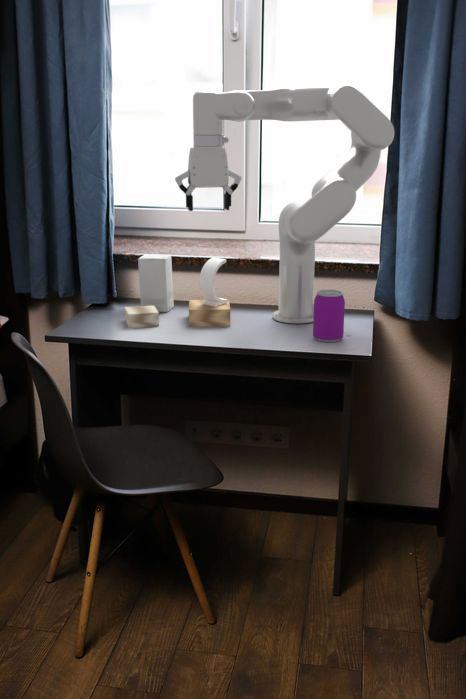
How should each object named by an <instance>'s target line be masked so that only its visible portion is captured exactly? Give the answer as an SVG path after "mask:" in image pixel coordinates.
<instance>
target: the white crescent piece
mask: <svg viewBox="0 0 466 699" xmlns="http://www.w3.org/2000/svg"><path fill="white" fill-rule="evenodd" d="M226 263H227V259H225V258H220V257H215V256H213V257H211V258H209V259H208V260H207V261H206V262H205V263H204V265H203V266H202V268H201V271H200V274H199V279H198V280H199V281H198V283H199V290H200V293H201V295H202V296H203V297H204V300H205V301H203V304H205V305H209V306H214V307H216V306H219V305H222V304H225V303H228V300H229V299H227V298H223V297H218V295H217V294H216V291H215V278H216V275H217V272H218V270H219V269H220V267H222V266H223V265H224V264H226Z"/></svg>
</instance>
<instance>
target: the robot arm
mask: <svg viewBox="0 0 466 699" xmlns="http://www.w3.org/2000/svg"><path fill="white" fill-rule="evenodd" d="M192 97H193V98H192V125H193V126H192V128H193V132H192V135H193V138H192V139H193V141H192V142H193V147H190V148H189V154H188V164H187V166H188V167H187V171H184V172H183V173H181V174H180V175H178V176H176V177H175V178H174V180H175V182H176V184H177V186H178V189H179V190H181V191H182V193H184V194H185V207H186V208H187V209H188V212H193V211H194V200H193V199H194V197H193V195H192V193H193V192H194V190H195V189H196V188H197V189H203V188H204V189H205V188H209V189H210V188H222V189H223V190H224V194H223V208H224V209H225V210H226V211H230V207H232V195H233V193H234V192H235V190H237V188H238V187H239V185H240V183H241V181H242V176H240V175H238V174H237V173H234V172H233V171H231V170H229V163H228V154H227V148H226V147H224V145H225V144H226V143H227V144H228V143H229V140H230V139H229V137H228V136H227V137H226V136H224V121H230V122H237V123H239V122H244V121H256V120H257V121H266V120H267V121H280V122H281V121H282V122H306V121H307V122H312V121H315V122H316V121H338V120H340V122H342V124H344V126H345V127H346V128H347V129H348V130H349V131H351V132H350V137H351V145H350V146H351V147H350V149H349V151H348V153H347V155H346V156H344V158H343V159H341V161H340V162H338V164H336V166H334V167H333V168H332V169H331V170H330V171H328V173H326V174H325V175H324V176H323V177H321V178H320V179H319V180H318V181H316V182H315V184H314V186H313V187H312V190H311V197H309V199H308V200H307V201H305V202H300V201H294V202H290V203H288V204H287V205H286V206H284V208H282V210H281V212H280V214H279V217H278V236H279V237H278V238H279V264H278V265H279V266H278V267H279V269H278V270H279V272H278V273H279V274H278V276H279V278H278V310H275V311H274V312H272V318H273V320H275V321H278V322H280V323H285V324H310V323H313V314H314V291H315V290H314V289H315V286H314V285H315V264H316V245H315V244H316V241H318V240H319V239H321V238H322V237H323V236H324V235H325V234H327V233H328V232H329V231H330V230H331V229H333V227H335V226H336V225H337V224H338V223H339V222H341V220H343V219H344V218H345V217H346V216H348V214H349V213H350V212H351V211H352V209H353V207H354V206H355V203H356V200H357V191H359V189H360V188H362V187H363V185H364V184H365V183H366V182H368V180H369V179H370V178H371V177H372V176H373V175H374V173H375V172H376V171H377V169H378V165H379V162H380V158H381V153H382V150H385V149H387V148H388V147H389V146H391V144H392V142H393V141H394V137H395V128H394V125H393V123H392V121H391V120H390V119H389V118H388V117H387V116H386V115H385V114H384V113H383V112H382V111H381V110H380V109H379V108H378V107H377V106H376V105H375V104H374V103H373V102H372V101H370V100H369V98H368V97H367V96H365V94H364V93H362V92H361V91H360V90H359V89H358V88H357V87H355V86H353V85H350V84H336V85H335V84H333V85H330V84H329V85H305V86H303V85H302V86H301V85H300V86H286V87H281V88H275V89H262V90H261V89H260V90H231V91H227V92H225V91H223V92H219V91H212V90H211V91H210V90H209V91H208V90H207V91H206V90H204V91H197V92H195V93H194V94H193V96H192ZM229 178H232V179H234V181H233V183H232V184H231V185H230V186H229V183H230V182H229ZM185 179H187V184H188V186H187V187H186V186H185V185H184V184H183V180H185Z"/></svg>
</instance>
